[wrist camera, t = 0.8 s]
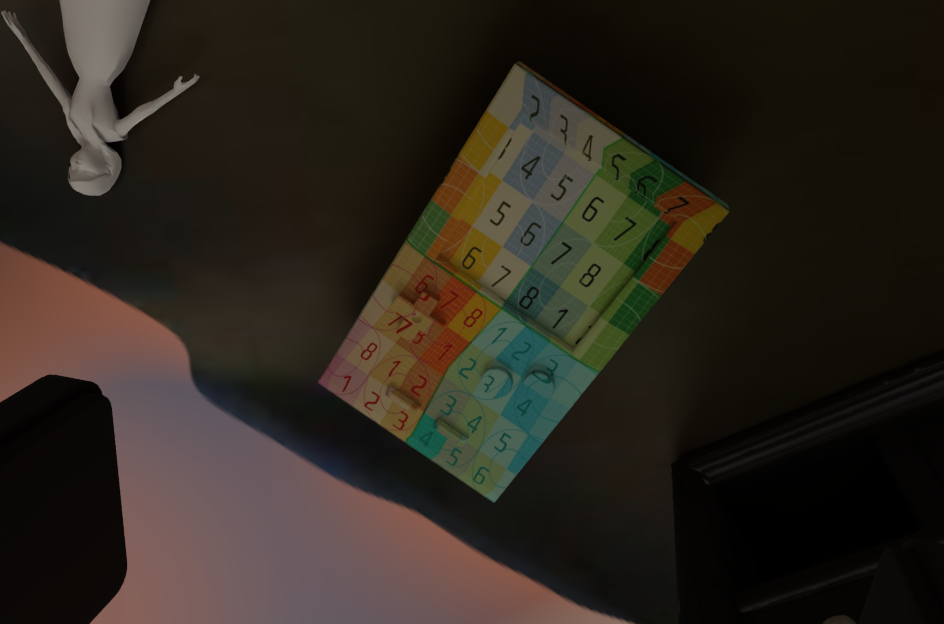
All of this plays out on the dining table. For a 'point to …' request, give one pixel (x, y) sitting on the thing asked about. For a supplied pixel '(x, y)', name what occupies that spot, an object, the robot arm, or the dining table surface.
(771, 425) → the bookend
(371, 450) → the dining table surface
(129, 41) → the woman figurine
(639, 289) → the puzzle game
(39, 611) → the robot arm
